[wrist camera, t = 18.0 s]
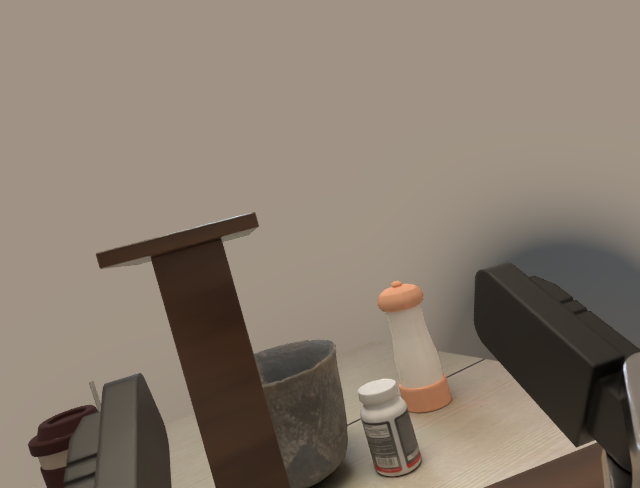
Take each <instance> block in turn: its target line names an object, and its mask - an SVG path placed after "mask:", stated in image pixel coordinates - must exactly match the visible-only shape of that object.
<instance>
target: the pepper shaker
mask: <svg viewBox="0 0 640 488" xmlns="http://www.w3.org/2000/svg"><path fill="white" fill-rule="evenodd" d="M401 284H402V283H401V282H400V281H394V282H393V283H392V284H391V286H392V287H390V288H388V289H386V290H384V291H383V292H382V293H381V294H380V295H379V298H378V306H379V308H380V309H381V310H382V311H384V312H386V317H387V320H388V324H389V328H390V332H391V336H392V340H393V349H394V359H395V365H396V369H397V372H398V375H399V379H400V384H399V388H400V392H401V396H402V399H403V400H404V401H405V402H406V405H407V408H408V411H410V412H416V413H420V412H429V411H433V410H436V409H439V408H442V407H444V406H446V405H447V404H448V403H449V402H450V401H451V399H452V397H451V394H450V390H449V386H448V382H447V379H446V375H445V374H444V373H442V370H441V365H440V361H439V357H438V353H437V351H436V348H435V346H434V344H433V342H432V339H431V337H430V335H429V333H428V330H427V327H426V323H425V320H424V316H423V312H422V309H421V305H420V303H421V302H422V301H423V292H422V291H421V289H420V288H419V287H418V286H417V285H412V284H402V285H401Z"/></svg>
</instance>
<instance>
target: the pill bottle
mask: <svg viewBox="0 0 640 488" xmlns="http://www.w3.org/2000/svg"><path fill="white" fill-rule="evenodd" d="M397 393H398V388H397V385H396V382H395V381H394V380H392V379H380V380H375V381H372V382H369V383H367V384H365V385H363V386H361V387H360V388H359V389H358V394H359V399H360V401H361V402H362V403H363V404H364V406H363V407H362V409H361V413H360V415H361V420H362V423H363V427H364V430H365V434H366V437H367V441H368V444H369V448H370V452H371V455H372V459H373V462H374V466H375V468H376V470H377V471H378V472H379V473H380V474H382V475H385V476H399V475H403V474H406V473H408V472H410V471H412V470H414V469H415V468H416V467H417V466H418V465H419V463H420V461H421V454H420V450H419V447H418V443H417V440H416V436H415V433H414V429H413V426H412V422H411V419H410V415H409V412H408V408H407V405H406V402H405V401H404V400H403V399H402V398H401V397H398V396H397Z"/></svg>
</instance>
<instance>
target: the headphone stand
mask: <svg viewBox="0 0 640 488" xmlns="http://www.w3.org/2000/svg"><path fill="white" fill-rule="evenodd" d="M257 227H259V225H258V221H257V217H256V214H255V212H253V213H249V214H245V215H241V216H237V217H233V218H230V219H225V220H222V221H218V222H214V223H210V224H206V225H202V226H199V227H195V228H191V229H187V230H184V231H180V232H176V233H172V234H168V235H164V236H160V237H156V238H153V239H149V240H145V241H141V242H137V243H133V244H129V245H126V246H122V247H118V248H114V249H110V250H106V251H102V252H98V253H96V256H97V260H98V263H99V267H100V268H101V269H103V268H111V267H121V266H130V265H138V264H142V263H145V262H149V261H152V264H153V267H154V271H155V275H156V278H157V282H158V285H159V288H160V292H161V296H162V299H163V302H164V306H165V310H166V313H167V317H168V320H169V324H170V327H171V331H172V335H173V338H174V342H175V345H176V349H177V352H178V356H179V359H180V363H181V366H182V370H183V373H184V377H185V380H186V384H187V387H188V391H189V395H190V398H191V402H192V405H193V409H194V412H195V416H196V419H197V423H198V426H199V430H200V433H201V437H202V440H203V444H204V448H205V451H206V455H207V458H208V462H209V465H210V469H211V472H212V476H213V479H214V483H215V486H216V488H291V487H290V483H289V479H288V476H287V472H286V469H285V465H284V462H283V458H282V454H281V451H280V447H279V444H278V440H277V436H276V433H275V429H274V426H273V422H272V419H271V415H270V411H269V408H268V404H267V401H266V397H265V393H264V390H263V386H262V383H261V379H260V375H259V372H258V368H257V365H256V361H255V358H254V354H253V351H252V347H251V343H250V340H249V336H248V333H247V329H246V325H245V322H244V319H243V315H242V311H241V307H240V304H239V300H238V297H237V293H236V290H235V286H234V283H233V279H232V275H231V271H230V268H229V264H228V261H227V257H226V254H225V250H224V246H223V243H222V242H224V241H228V240H232V239H235V238H239V237H243V236H246V235H249V234H250V233H251V232H253V231H254V230H255V229H256V228H257ZM602 451H603V447H602V446H601V445H600V444H599V443H598V442H597V443H595V444H592V445H590V446H587V447H585V448H582V449H580V450H577V451H575V452H572V453H570V454H567V455H565V456H562V457H560V458H557V459H555V460H552V461H550V462H547V463H545V464H542V465H540V466H537V467H535V468H532V469H530V470H527V471H525V472H522V473H520V474H517V475H515V476H512V477H510V478H507V479H505V480H502V481H500V482H497V483H495V484H492V485H489V486H487V487H484V488H605V486H604V478H603V469H602V460H601V455H602Z"/></svg>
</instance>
